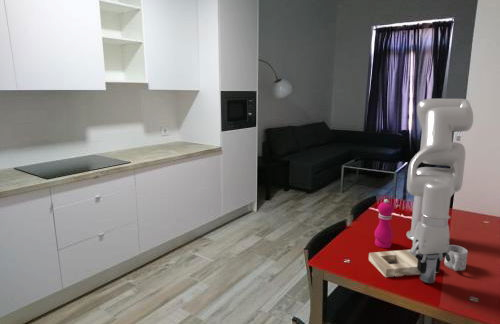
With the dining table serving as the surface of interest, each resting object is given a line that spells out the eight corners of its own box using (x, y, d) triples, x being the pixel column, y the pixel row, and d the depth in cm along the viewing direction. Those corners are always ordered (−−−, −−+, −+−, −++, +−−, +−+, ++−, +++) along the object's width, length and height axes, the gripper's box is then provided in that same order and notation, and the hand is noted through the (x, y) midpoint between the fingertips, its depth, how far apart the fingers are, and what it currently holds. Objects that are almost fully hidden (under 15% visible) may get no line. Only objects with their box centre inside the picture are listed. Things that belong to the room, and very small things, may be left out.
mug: (444, 259, 124) (446, 243, 122) (465, 264, 121) (467, 247, 119) (444, 272, 115) (446, 254, 114) (466, 277, 112) (469, 259, 111)
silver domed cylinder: (429, 274, 112) (432, 247, 110) (440, 283, 107) (443, 255, 105) (414, 275, 112) (417, 248, 109) (424, 284, 106) (428, 257, 104)
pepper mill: (390, 250, 131) (394, 203, 127) (372, 246, 135) (375, 200, 131) (393, 243, 137) (397, 198, 133) (375, 239, 141) (378, 195, 137)
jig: (417, 256, 127) (418, 244, 126) (438, 272, 115) (440, 259, 114) (368, 260, 124) (369, 247, 123) (385, 277, 112) (386, 264, 111)
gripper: (449, 213, 109) (443, 262, 113) (402, 217, 107) (398, 267, 111) (466, 222, 102) (459, 274, 106) (417, 226, 100) (411, 279, 104)
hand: (428, 270), depth 109 cm, fingers closed on silver domed cylinder, 4 cm apart
